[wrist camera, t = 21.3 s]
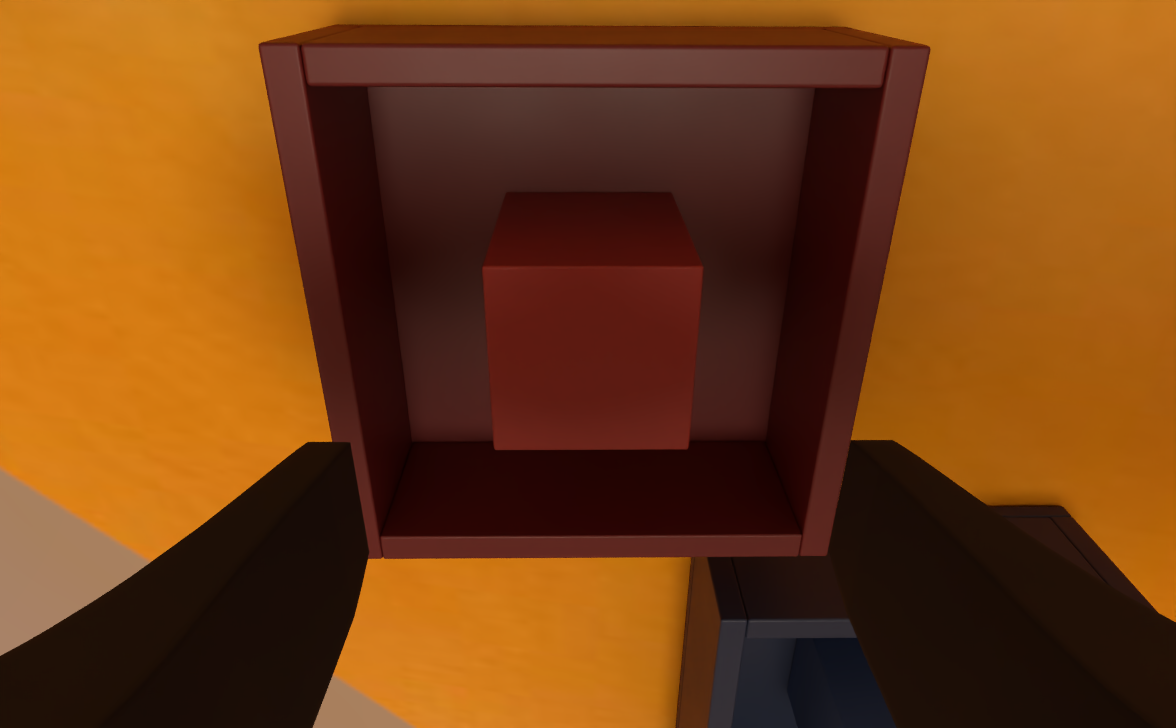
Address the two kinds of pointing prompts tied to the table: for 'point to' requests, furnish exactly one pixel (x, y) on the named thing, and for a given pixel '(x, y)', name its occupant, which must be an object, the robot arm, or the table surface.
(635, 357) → the red block
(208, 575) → the robot arm
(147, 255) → the table surface
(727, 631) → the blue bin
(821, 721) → the blue block
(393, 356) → the red bin
